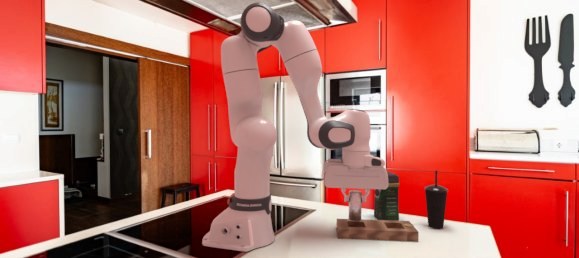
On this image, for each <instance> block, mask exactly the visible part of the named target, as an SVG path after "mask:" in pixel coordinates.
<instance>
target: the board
mask: <svg viewBox="0 0 579 258" xmlns="http://www.w3.org/2000/svg"><path fill="white" fill-rule="evenodd" d="M336 232H337V239H339V240H361V241H362V240H365V241H386V242H387V241H388V242H409V243H410V242H415V243H418V242H419V231H418V230H417V229H416V227H415V226H414V225H413V224H412V222H411V221H410V220H399V221H394V220H378V219H362V218H361V220H360V221H352V220H349V218H336Z"/></svg>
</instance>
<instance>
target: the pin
mask: <svg viewBox="0 0 579 258" xmlns="http://www.w3.org/2000/svg"><path fill="white" fill-rule="evenodd" d="M348 196H349V202H348V219H349V220H352V221H360V220H361V219H362V204H363V203H362V196H363V193H362V191H361V190H358V189H351V190H348Z"/></svg>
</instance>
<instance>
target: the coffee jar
mask: <svg viewBox="0 0 579 258" xmlns="http://www.w3.org/2000/svg"><path fill="white" fill-rule="evenodd" d="M387 174H388V188H387V189H385V190H384V189H374V207H373V209H374V210H373V217H374V218H375V220H394V221H400V213H399V212H400V209H399V203H400V202H399V189H400V188H399V187H400V176H399V175H397V174H396V173H393V172H390V171H388V170H387Z"/></svg>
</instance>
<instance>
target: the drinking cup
mask: <svg viewBox="0 0 579 258" xmlns="http://www.w3.org/2000/svg"><path fill="white" fill-rule="evenodd" d="M424 192H425V193H424V194H425V202H426V203H425V205H426V215H427V216H426V217H427V224H428V227H429V228H431V229H434V230H443V229H444V226H445V216H446V206H447V196H448V192H449V189H448V188H446V187H444V185H443V186H442V185H439V184H438V170H434V184H430V185H427V186H424Z"/></svg>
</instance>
